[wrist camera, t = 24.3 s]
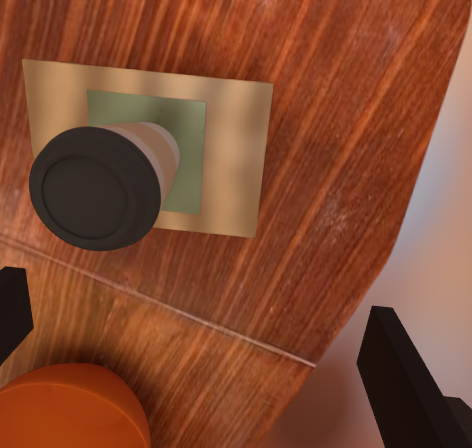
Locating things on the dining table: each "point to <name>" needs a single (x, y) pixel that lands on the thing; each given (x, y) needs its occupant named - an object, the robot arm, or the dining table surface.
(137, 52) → the dining table surface
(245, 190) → the shelf
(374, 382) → the robot arm
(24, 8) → the dining table surface
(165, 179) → the coffee cup
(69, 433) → the bowl
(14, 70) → the dining table surface
